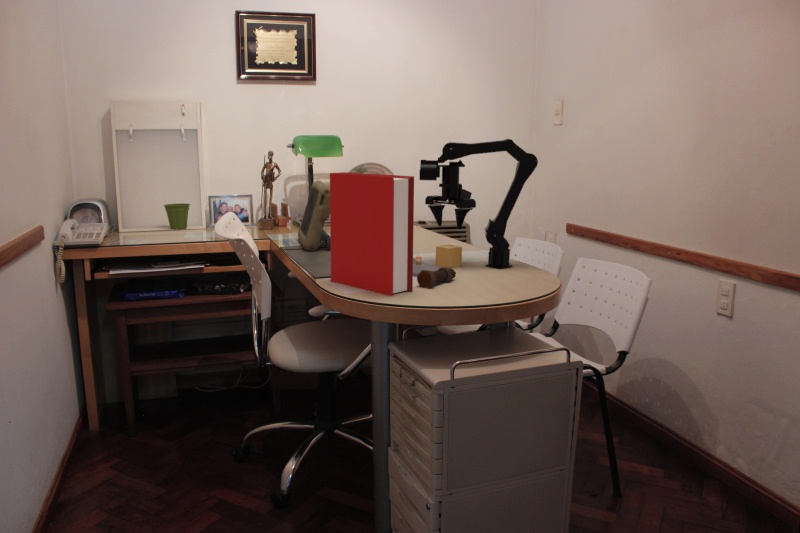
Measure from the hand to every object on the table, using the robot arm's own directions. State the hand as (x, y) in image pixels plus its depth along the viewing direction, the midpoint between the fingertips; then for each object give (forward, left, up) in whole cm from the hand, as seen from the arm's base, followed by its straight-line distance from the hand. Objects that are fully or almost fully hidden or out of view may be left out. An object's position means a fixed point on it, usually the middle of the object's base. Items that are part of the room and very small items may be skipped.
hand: (449, 227), depth 217 cm
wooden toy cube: (0, 0, -13) cm, 13 cm away
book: (-8, +41, -13) cm, 44 cm away
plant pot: (+143, +34, -13) cm, 147 cm away
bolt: (-18, +22, -13) cm, 32 cm away
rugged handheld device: (+64, +11, -13) cm, 66 cm away
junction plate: (0, +14, -13) cm, 19 cm away
